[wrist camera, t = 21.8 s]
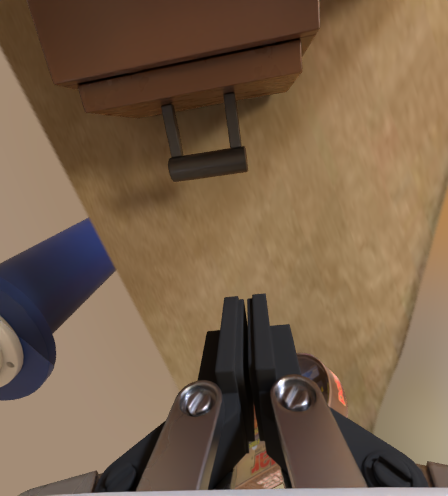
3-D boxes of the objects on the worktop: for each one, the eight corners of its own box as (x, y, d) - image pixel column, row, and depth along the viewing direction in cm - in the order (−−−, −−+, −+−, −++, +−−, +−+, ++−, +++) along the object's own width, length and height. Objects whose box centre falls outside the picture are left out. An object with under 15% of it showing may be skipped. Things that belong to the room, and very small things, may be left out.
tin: (314, 335, 26) (339, 422, 18) (337, 355, 27) (370, 447, 19) (208, 412, 31) (193, 504, 24) (229, 427, 32) (221, 522, 24)
